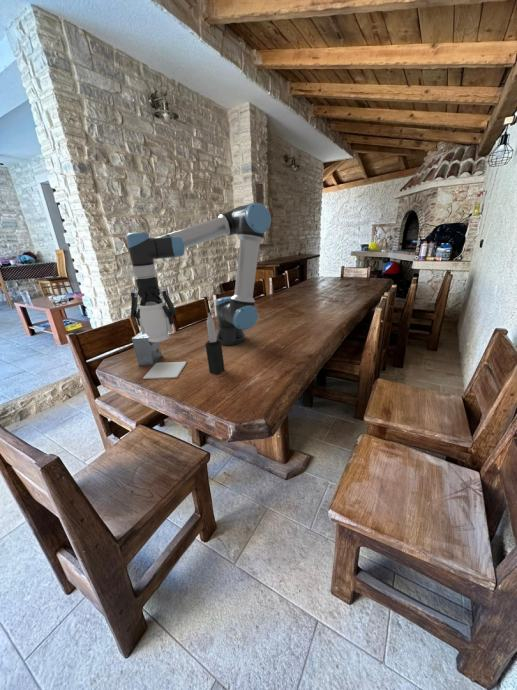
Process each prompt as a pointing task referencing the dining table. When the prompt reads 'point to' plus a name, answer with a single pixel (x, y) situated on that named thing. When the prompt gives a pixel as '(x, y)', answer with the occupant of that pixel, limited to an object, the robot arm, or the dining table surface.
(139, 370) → the dining table surface
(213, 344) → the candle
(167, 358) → the dining table surface
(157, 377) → the mat
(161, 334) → the jar
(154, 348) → the block
